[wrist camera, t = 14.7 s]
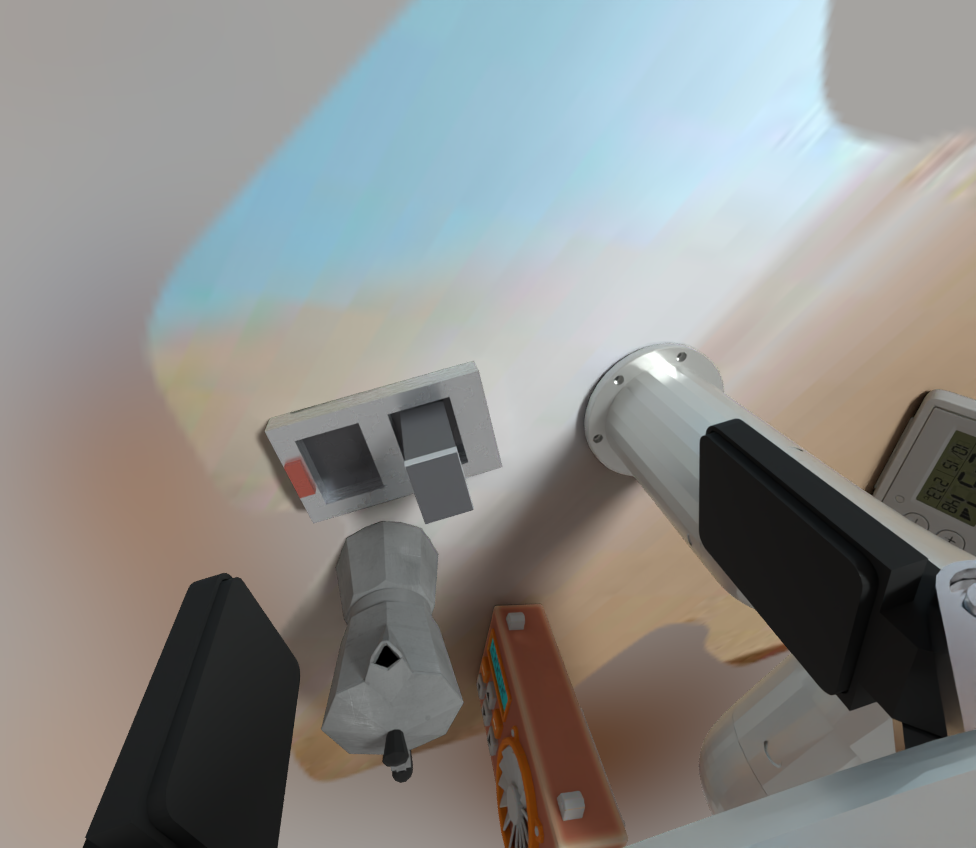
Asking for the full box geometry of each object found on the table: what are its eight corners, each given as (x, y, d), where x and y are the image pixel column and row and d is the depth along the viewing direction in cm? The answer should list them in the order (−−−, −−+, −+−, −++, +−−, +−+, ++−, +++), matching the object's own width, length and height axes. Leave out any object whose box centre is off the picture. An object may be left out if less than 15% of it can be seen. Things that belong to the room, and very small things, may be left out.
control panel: (468, 689, 58) (489, 596, 52) (525, 684, 60) (552, 593, 53) (512, 939, 40) (554, 845, 33) (592, 921, 42) (647, 829, 35)
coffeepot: (324, 507, 42) (297, 714, 27) (435, 494, 44) (469, 683, 29) (348, 630, 50) (337, 847, 35) (442, 615, 52) (472, 815, 36)
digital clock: (929, 377, 49) (1055, 430, 40) (988, 392, 52) (1119, 445, 43) (837, 509, 56) (927, 579, 47) (893, 516, 59) (989, 584, 50)
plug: (442, 395, 39) (458, 452, 32) (456, 446, 42) (474, 510, 35) (398, 407, 39) (404, 467, 32) (415, 458, 42) (425, 524, 34)
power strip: (474, 360, 39) (479, 373, 37) (497, 454, 43) (503, 470, 41) (269, 418, 38) (263, 435, 36) (315, 508, 42) (312, 527, 40)
